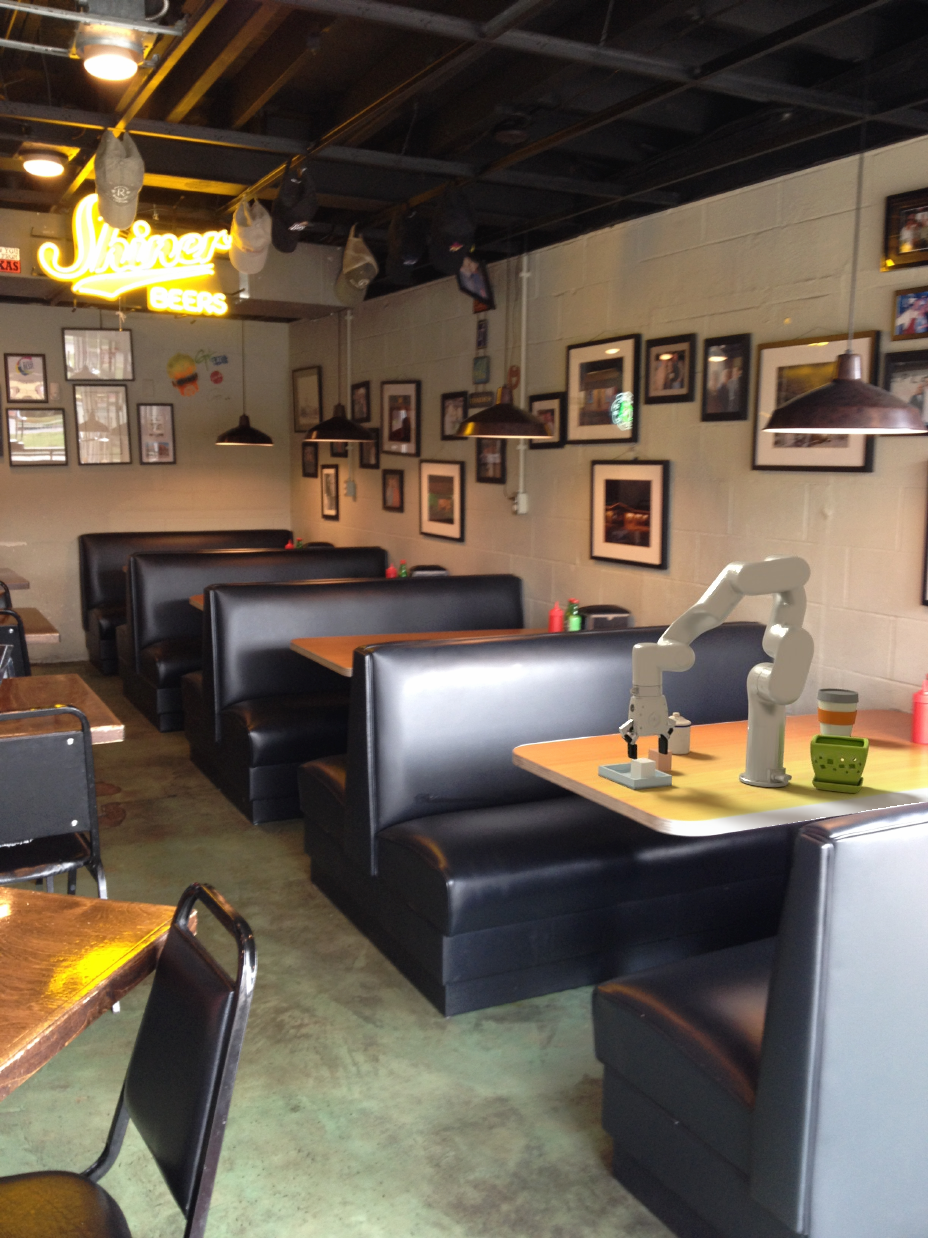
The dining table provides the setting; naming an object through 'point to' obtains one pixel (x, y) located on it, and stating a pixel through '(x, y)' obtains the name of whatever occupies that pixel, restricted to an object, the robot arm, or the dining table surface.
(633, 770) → the white block
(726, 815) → the dining table surface
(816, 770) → the flower pot
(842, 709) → the reusable coffee cup
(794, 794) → the dining table surface
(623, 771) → the tray
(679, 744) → the teacup with lid
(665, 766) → the terracotta block
